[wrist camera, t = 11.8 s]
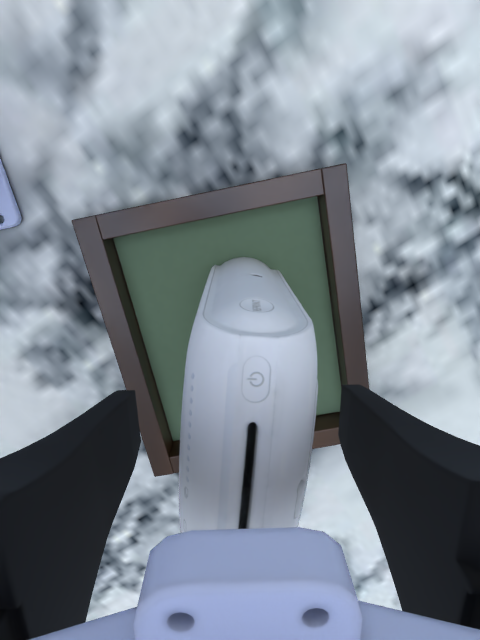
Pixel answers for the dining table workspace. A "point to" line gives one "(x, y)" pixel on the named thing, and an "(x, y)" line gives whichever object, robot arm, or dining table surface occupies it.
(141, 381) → the tray
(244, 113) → the dining table surface
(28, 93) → the dining table surface
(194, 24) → the dining table surface
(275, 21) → the dining table surface
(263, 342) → the photo printer
